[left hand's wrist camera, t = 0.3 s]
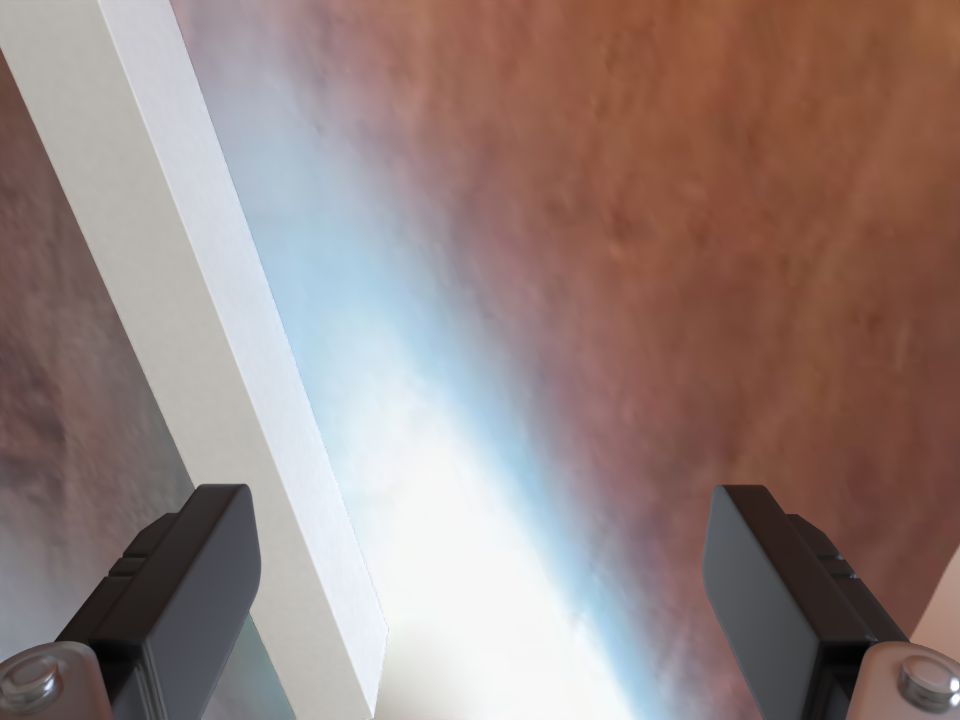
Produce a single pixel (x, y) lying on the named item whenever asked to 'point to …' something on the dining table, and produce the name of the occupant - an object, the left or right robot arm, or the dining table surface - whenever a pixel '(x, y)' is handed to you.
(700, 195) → the dining table surface
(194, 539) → the left robot arm
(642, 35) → the dining table surface
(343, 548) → the bar
